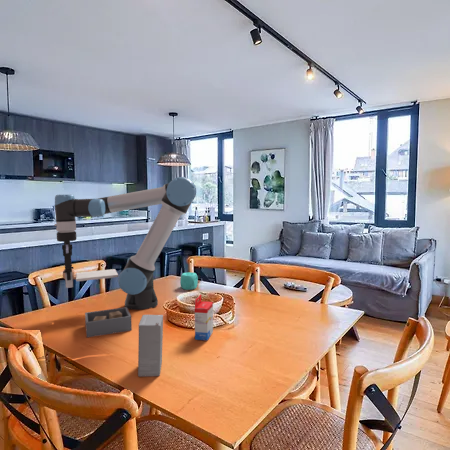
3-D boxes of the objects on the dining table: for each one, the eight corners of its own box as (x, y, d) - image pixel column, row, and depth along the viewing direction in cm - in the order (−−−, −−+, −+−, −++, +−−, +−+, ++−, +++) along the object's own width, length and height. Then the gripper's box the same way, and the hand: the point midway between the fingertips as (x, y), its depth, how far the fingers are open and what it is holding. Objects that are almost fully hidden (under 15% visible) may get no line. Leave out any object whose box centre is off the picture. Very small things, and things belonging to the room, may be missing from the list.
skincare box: (141, 363, 107) (140, 314, 106) (164, 362, 108) (163, 313, 106) (137, 378, 99) (135, 324, 97) (162, 376, 99) (161, 323, 98)
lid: (115, 271, 160) (114, 261, 160) (118, 276, 149) (117, 266, 148) (63, 276, 152) (62, 266, 151) (62, 282, 140) (62, 272, 140)
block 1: (106, 328, 134) (106, 315, 134) (104, 332, 130) (104, 319, 130) (96, 329, 134) (95, 316, 133) (93, 333, 130) (93, 320, 129)
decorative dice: (180, 289, 190) (180, 275, 189) (184, 285, 198) (184, 272, 197) (194, 290, 189) (194, 275, 188) (198, 286, 197) (197, 272, 196)
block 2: (119, 322, 140) (119, 310, 139) (122, 325, 136) (122, 313, 136) (109, 325, 138) (108, 312, 137) (112, 328, 134) (111, 315, 134)
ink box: (207, 341, 123) (207, 301, 122) (194, 340, 124) (193, 300, 123) (213, 331, 132) (213, 294, 130) (200, 330, 133) (200, 293, 131)
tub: (127, 321, 143) (126, 307, 143) (131, 331, 132) (131, 316, 132) (85, 327, 137) (85, 312, 136) (86, 339, 126) (86, 323, 125)
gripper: (57, 229, 151) (60, 282, 153) (55, 234, 135) (58, 292, 138) (75, 229, 154) (78, 280, 156) (76, 232, 138) (79, 289, 141)
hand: (69, 285), depth 147 cm, fingers closed on lid, 4 cm apart
